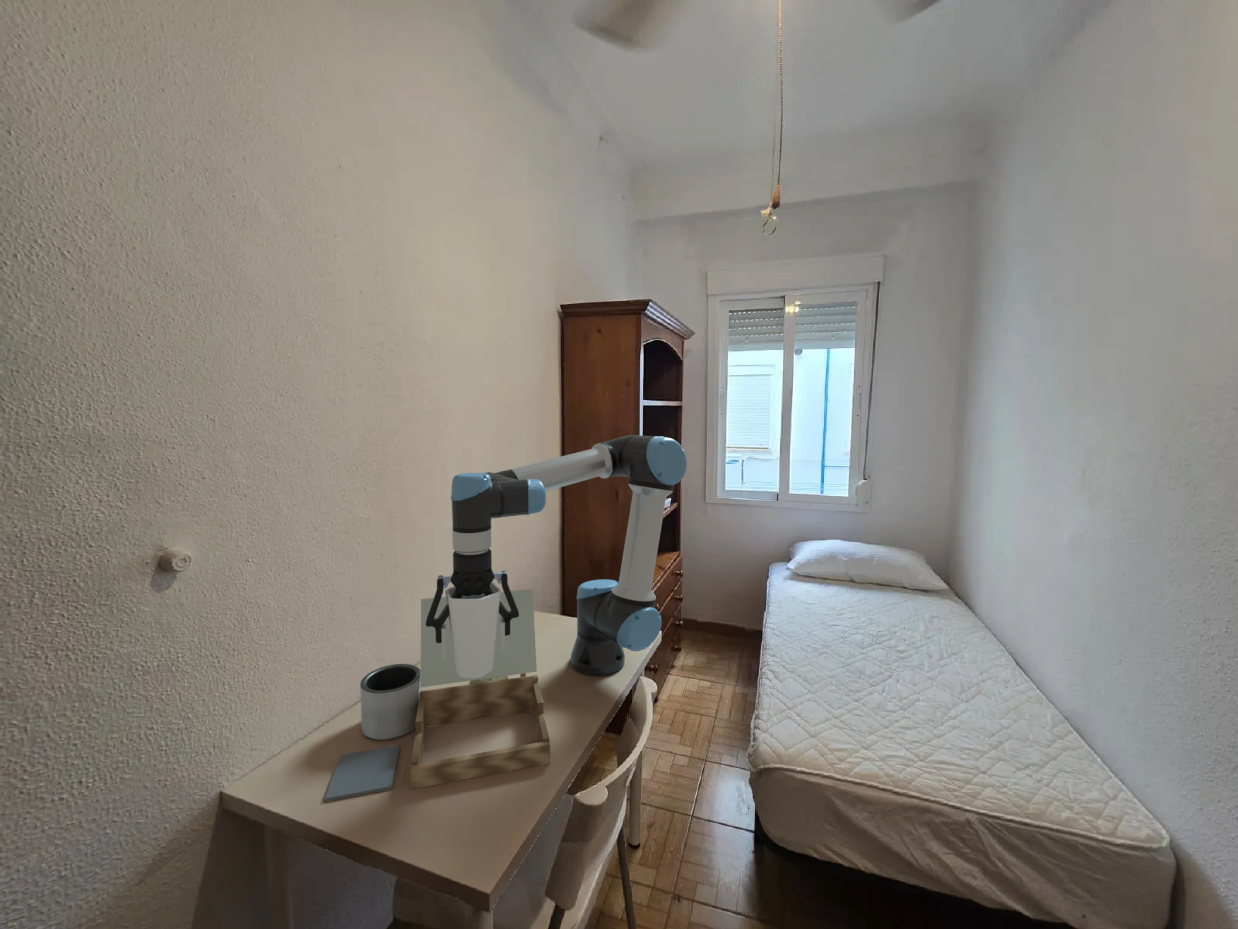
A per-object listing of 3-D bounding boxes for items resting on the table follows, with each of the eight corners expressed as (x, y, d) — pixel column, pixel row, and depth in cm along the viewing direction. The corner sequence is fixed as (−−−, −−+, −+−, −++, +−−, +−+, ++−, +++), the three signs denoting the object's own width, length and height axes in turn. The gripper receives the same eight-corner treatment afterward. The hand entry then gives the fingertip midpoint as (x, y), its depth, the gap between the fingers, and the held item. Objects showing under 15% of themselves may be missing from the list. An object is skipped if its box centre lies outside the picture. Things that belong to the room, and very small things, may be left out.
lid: (536, 671, 118) (536, 671, 119) (532, 589, 123) (532, 589, 125) (420, 687, 111) (421, 686, 112) (421, 599, 116) (421, 599, 117)
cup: (470, 689, 97) (469, 604, 95) (435, 674, 102) (433, 593, 100) (511, 665, 106) (510, 587, 105) (477, 652, 112) (476, 578, 110)
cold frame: (535, 696, 124) (534, 634, 122) (550, 763, 101) (550, 687, 99) (422, 713, 117) (420, 647, 115) (410, 789, 93) (407, 708, 92)
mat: (399, 747, 105) (399, 745, 105) (391, 789, 93) (391, 786, 93) (341, 757, 102) (341, 754, 102) (324, 801, 90) (324, 798, 90)
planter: (434, 720, 114) (433, 673, 113) (382, 750, 104) (380, 699, 103) (402, 702, 121) (400, 657, 120) (350, 728, 111) (348, 680, 110)
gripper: (528, 541, 108) (528, 639, 111) (412, 548, 102) (415, 652, 104) (532, 550, 101) (533, 654, 104) (408, 559, 95) (411, 670, 97)
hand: (474, 653), depth 104 cm, fingers closed on cup, 11 cm apart
